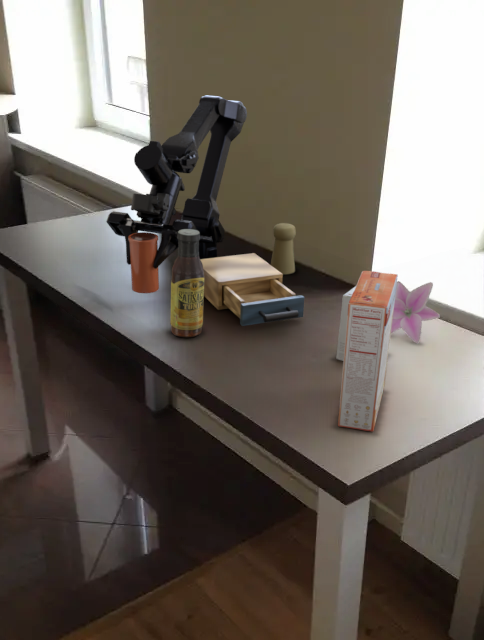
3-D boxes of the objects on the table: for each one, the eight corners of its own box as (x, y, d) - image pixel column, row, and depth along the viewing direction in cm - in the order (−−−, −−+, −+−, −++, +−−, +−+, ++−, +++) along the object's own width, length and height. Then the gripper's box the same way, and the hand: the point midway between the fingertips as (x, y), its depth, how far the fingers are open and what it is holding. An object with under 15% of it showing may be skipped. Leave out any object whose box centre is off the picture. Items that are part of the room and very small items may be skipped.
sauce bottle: (178, 341, 140) (176, 238, 130) (165, 329, 145) (162, 229, 135) (209, 335, 143) (210, 234, 133) (196, 323, 147) (195, 225, 138)
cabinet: (281, 301, 159) (282, 273, 156) (218, 310, 154) (218, 282, 151) (253, 278, 170) (254, 252, 167) (193, 286, 165) (193, 260, 162)
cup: (134, 282, 156) (131, 231, 151) (162, 284, 156) (160, 232, 150) (128, 293, 151) (125, 240, 146) (157, 294, 151) (155, 241, 145)
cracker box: (348, 386, 126) (361, 268, 116) (384, 391, 124) (400, 273, 114) (334, 427, 114) (347, 300, 104) (373, 433, 113) (390, 305, 102)
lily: (363, 327, 150) (364, 297, 142) (405, 296, 153) (409, 265, 145) (405, 363, 144) (410, 334, 136) (448, 330, 147) (455, 300, 139)
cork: (265, 271, 175) (267, 225, 169) (276, 264, 179) (278, 219, 174) (288, 276, 172) (291, 229, 167) (299, 268, 177) (302, 223, 172)
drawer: (312, 324, 146) (313, 304, 144) (250, 334, 141) (251, 313, 139) (274, 293, 160) (275, 274, 158) (216, 301, 155) (216, 282, 153)
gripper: (107, 171, 149) (84, 240, 145) (193, 180, 143) (171, 252, 140) (127, 201, 159) (106, 266, 155) (208, 211, 154) (188, 278, 150)
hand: (141, 265), depth 150 cm, fingers closed on cup, 5 cm apart
